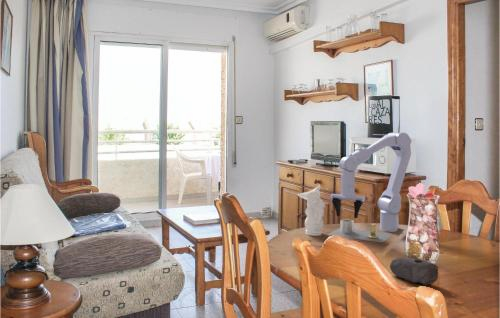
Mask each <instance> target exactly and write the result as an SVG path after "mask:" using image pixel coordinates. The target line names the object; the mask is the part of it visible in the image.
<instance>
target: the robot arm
mask: <svg viewBox="0 0 500 318" xmlns="http://www.w3.org/2000/svg"><path fill="white" fill-rule="evenodd" d="M412 141H413V140H412V139H411V137H410V136H409V134H408V133H407V132H389V133H387V134H385V135H383V136H382V137H381V138H379V139H378V140H376V141H375V142H373V143H372V144H370V145H369V146H368V147H364V146H363V147H358V148H357V150H356V151H354V152H352V153H349V154H348V156H344V157H342V158H341V159H340V160H339V163H338V167H339V169H340V193H331V194H330V197H329V199H330V200H331V203H332V205H333V207H334V209H335V212H336V216H337V217H340V216H341V204H342V203H341V202H342V200H344V201H353V207H354V208H353V209H354V212H353V213H354V214H353V216H354V217H353V218H354V219H357V218H359V217H358V215H359V212H360V209H361V208H362V205H363V203H364V202H365V201H366V196H363V195H362V196H361V195H356V194H355V188H356V187H355V185H356V184H355V182H356V176H355V175H356V170H357V169H358V166H361V165H362V164H363V163H365V162H366V161H368V160H370V159H371V157H372V155H373V154H375V153H377V152H379V151H381V150H382V149H384V148H386V147H390V148H391V149H392V150H393V151H394V153H395V155H396V156H395V157H396V158H395V160H394V165H393V167H392V170H391V174H390V176H389V177H390V178H389V180H388V185H387V187H386V189H385V190H384V191H383V192H382V194H381V196H380V197H379V198H378V200H377V207H378V208H379V211H380V212H379V213H380V214H379V215H380V217H379V218H380V219H379V220H380V221H379V230H380V231H382V232H386V233H387V232H389V233H390V232H391V233H393V232H397V231H398V229H399V221H400V220H399V212H400V211H401V208H402V196H401V194H400V193H401V188H402V186H403V183H404V179H405V176H406V172H407V170H408V165H409V162H410V159H411V155H412V150H411V143H412Z"/></svg>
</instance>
